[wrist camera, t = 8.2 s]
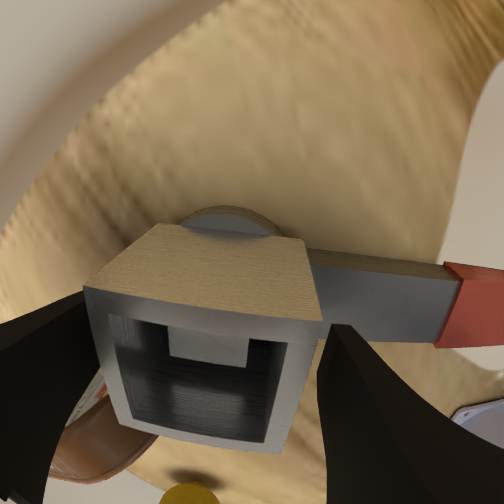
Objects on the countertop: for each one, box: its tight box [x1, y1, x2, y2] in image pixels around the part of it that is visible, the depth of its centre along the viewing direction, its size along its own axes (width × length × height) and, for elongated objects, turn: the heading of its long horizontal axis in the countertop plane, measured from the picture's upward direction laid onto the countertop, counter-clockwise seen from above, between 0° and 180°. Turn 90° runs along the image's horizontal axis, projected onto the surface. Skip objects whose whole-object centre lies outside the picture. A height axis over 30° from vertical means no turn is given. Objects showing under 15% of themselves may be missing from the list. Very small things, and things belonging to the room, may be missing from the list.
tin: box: [48, 367, 159, 484], centre depth 12 cm, size 15×3×8 cm, turn 123°
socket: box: [83, 223, 323, 454], centre depth 9 cm, size 5×5×5 cm
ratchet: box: [168, 206, 504, 368], centre depth 11 cm, size 21×6×4 cm, turn 85°
